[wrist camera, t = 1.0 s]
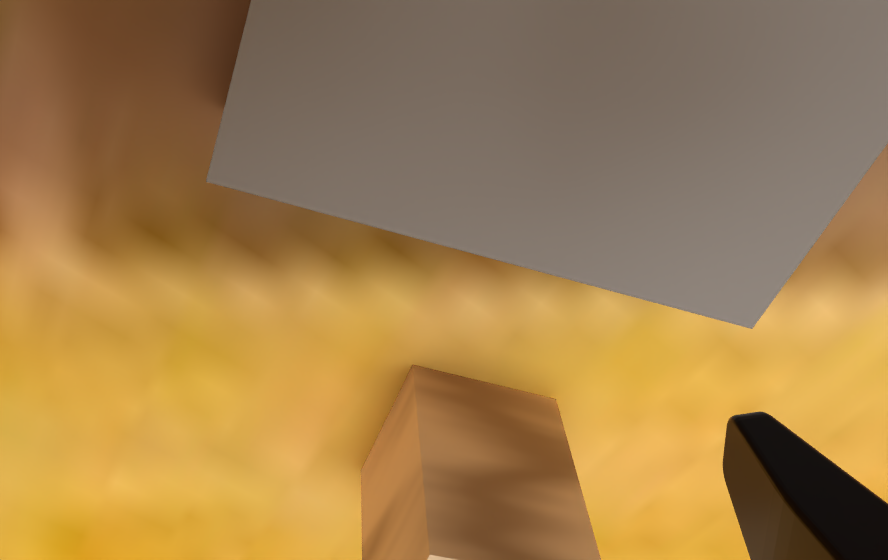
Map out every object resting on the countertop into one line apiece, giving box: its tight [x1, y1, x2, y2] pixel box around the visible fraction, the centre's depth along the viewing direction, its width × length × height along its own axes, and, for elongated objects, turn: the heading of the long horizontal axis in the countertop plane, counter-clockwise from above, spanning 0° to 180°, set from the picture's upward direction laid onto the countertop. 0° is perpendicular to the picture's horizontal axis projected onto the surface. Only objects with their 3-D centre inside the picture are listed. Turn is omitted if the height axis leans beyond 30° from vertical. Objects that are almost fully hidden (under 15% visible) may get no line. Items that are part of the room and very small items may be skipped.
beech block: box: [361, 365, 601, 560], centre depth 25 cm, size 5×5×7 cm
